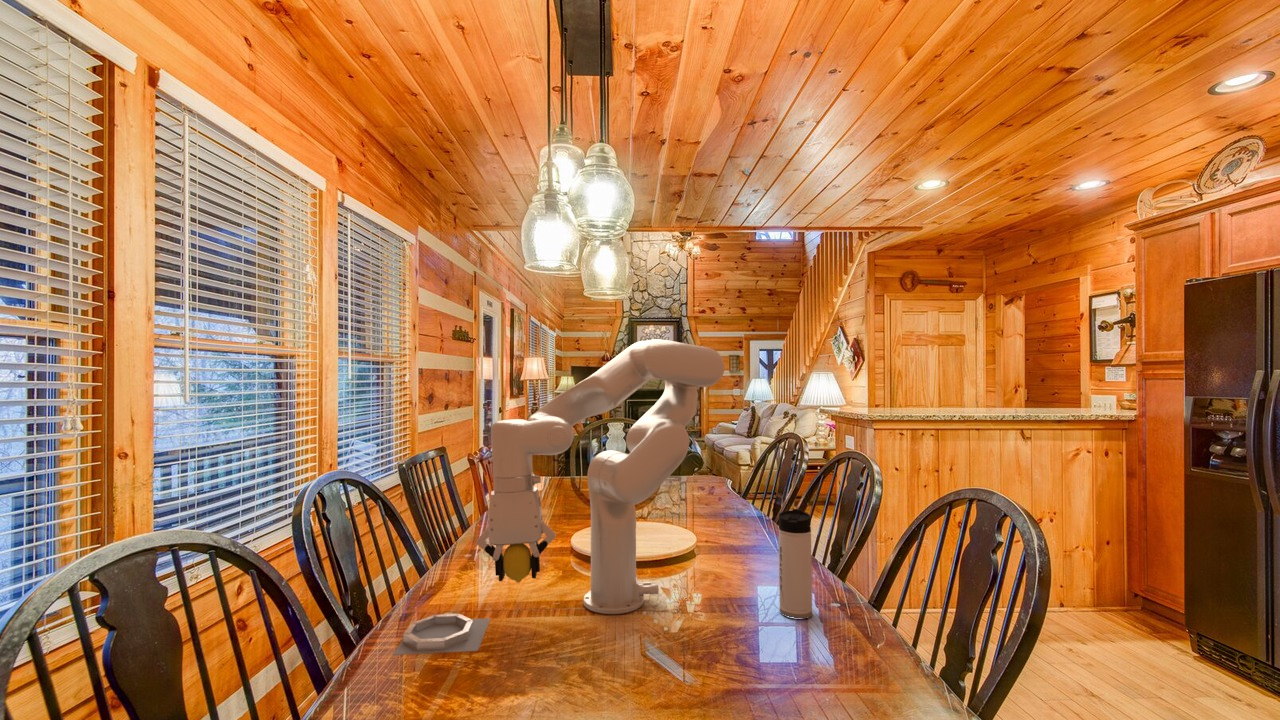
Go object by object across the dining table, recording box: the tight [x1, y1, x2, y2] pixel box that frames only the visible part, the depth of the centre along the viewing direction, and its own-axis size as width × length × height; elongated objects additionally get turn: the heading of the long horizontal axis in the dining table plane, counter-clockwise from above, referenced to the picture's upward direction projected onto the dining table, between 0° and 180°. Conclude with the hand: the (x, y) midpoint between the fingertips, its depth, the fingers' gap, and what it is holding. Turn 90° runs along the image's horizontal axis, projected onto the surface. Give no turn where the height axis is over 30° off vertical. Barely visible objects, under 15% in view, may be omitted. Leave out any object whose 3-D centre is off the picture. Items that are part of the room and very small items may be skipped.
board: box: [392, 617, 491, 656], centre depth 101 cm, size 14×13×1 cm
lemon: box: [503, 543, 532, 583], centre depth 109 cm, size 6×6×8 cm
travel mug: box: [778, 508, 813, 618], centre depth 113 cm, size 6×7×20 cm
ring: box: [402, 613, 473, 651], centre depth 101 cm, size 11×11×2 cm
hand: (518, 576), depth 109 cm, fingers closed on lemon, 5 cm apart
